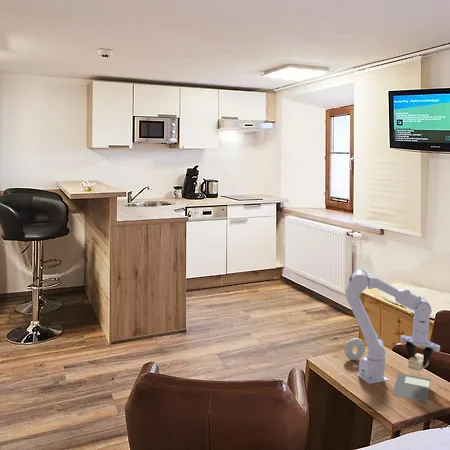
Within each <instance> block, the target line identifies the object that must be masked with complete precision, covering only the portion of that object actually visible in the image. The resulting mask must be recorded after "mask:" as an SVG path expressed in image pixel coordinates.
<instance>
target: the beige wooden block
mask: <svg viewBox="0 0 450 450" xmlns="http://www.w3.org/2000/svg"><path fill="white" fill-rule="evenodd" d="M423 359H424V357H423V353H422V354H421V353H418V352H417V353H415V355H414V356H413V357H411V358H408V364H407V368H408V369H411V370H414V371H418V372H420V371H422V370H423V369H425V368H426V367H427V366H428V365H429V362H428V363H427V365H426V366H423Z"/></svg>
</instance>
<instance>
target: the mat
mask: <svg viewBox="0 0 450 450" xmlns="http://www.w3.org/2000/svg"><path fill="white" fill-rule="evenodd" d="M430 384H431V378H426V377H421V376H415V375H412V374H411V375H410V374H405V373H401V372H398V374H397V377H396V380H395V384H394V387H393V391H392V394H391V395H392V396H394V397H400V398H403V399H408V400H414V401H417V402H422V403H425V404H427V403H428V400H429V392H430Z"/></svg>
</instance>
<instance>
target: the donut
mask: <svg viewBox="0 0 450 450" xmlns="http://www.w3.org/2000/svg"><path fill="white" fill-rule="evenodd" d="M365 344H366V343H365V342H364V340H363V339H361V338H358V337H353V338H350V339H349V340H347V342H346V343H345V345H344V349H343V352H344V355H345V357H346V358H347V360H350V361H358V360H360V359H362V358H363V356H364V354H366V353H365V352H366V345H365ZM355 347H357V348H356V350H355V352H353V349H354V348H355Z"/></svg>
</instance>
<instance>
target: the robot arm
mask: <svg viewBox="0 0 450 450" xmlns="http://www.w3.org/2000/svg"><path fill="white" fill-rule="evenodd" d="M367 288H368V290H372V289H377V290H379V291H382V292H383V293H385V294H388V295H390V296H391V297H394V298H395V302H396V303H398V304H400V305H402V306H403V307H406V308H407V309H409V310H411V311H414V314H413V321H412V334H411V335H412V336H408V335H404V334H403V335H401V336H400V342H405V343H406V344H404V346H405V349H406V351H407V354H408V359H410V358H411V357H413V356H414V355H415V354H416V353H415V352H416V346H417V347H422V348H423V350H422V355H423V357H424V359H423V366H426V365H427V363H428V364H429V359H430V357H431V355H432V354H433V353H434V351H435V352H440V350H441V345H440V344H437V343H434V342H432V341H430V340H429V333H430V331H429V330H430V315H431V314H432V312H433V310H432V307H431V304H430V303H429V301H428V300H427V299H426V298H425V297H422V296H421V295H416V294H414V293H412V292H411V290H410V289H408V288H406V289H405V288H399V289H398V288H397V287H395V286H393V285H391V284H390V283H388V282H386V281H385V280H383V279H381V278H380V277H378V276H376V275H374V274H373V273H370V272H366V270H364V269H361V268H360V269H359V268H357V269H354V271H353V272H352V273H351V274H350V276H349V278H348V284H347V289H346V293H345V296H346V300H347V302H348V304H349V307H350V310H351V311H352V313H353V315H354V317H355V320H356V322H357V324H358V326H359V329H360V332H361V333H362V335H363V337H364V339H365V344H366V346H367V349H368V350H367V353H365V354H366V355H365V357H361V358H360V359H359V361H358V373H357V376H358V377H359V378H360V379H362V380H363V381H364V382H366V383H367V384H369V385H370V384H376V383H381V382H387V381H389V380H390V379H389V378H387V377H386V376H385V371H386V370H385V367H386V366H385V365H386V350H385V347H384V346H385V343H384V341H383V339H382V338H380V336H379V335H378V334H377V333H378V332H376V330H375V328H374V326H373V324H372V321H371V320H370V317H369V315H368V313H367V311H366V309H365V307H364V305H363V302H362V300H361V295H362V292H364V291H365V290H366V289H367ZM427 366H428V365H427ZM427 366H426V367H427Z"/></svg>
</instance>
